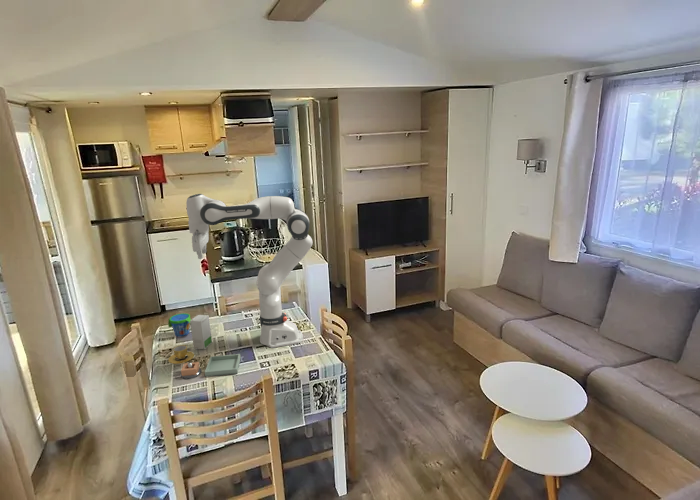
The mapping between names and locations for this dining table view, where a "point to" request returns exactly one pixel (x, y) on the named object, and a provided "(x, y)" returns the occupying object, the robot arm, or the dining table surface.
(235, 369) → the tray
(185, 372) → the orange hollow square block
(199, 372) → the silver knobbed lid
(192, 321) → the grey tall box
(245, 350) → the dining table surface
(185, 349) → the cup
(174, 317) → the snack cup
